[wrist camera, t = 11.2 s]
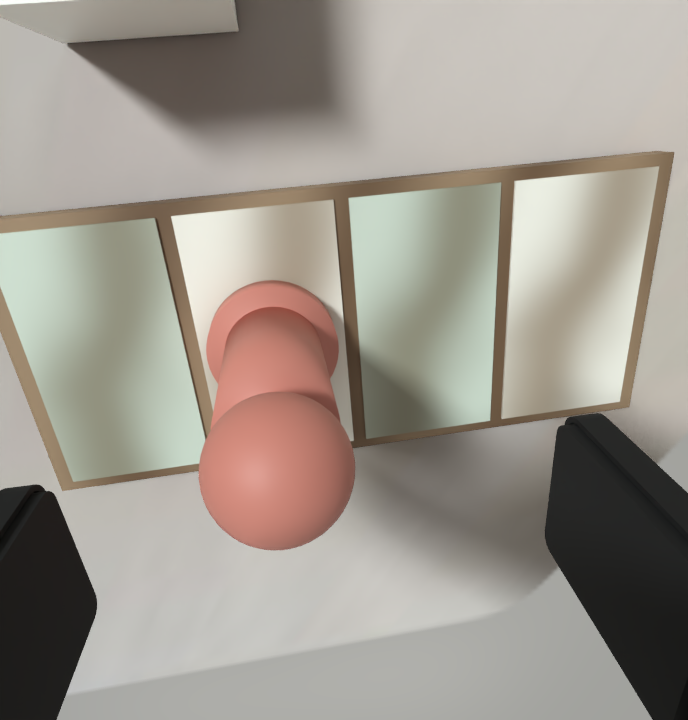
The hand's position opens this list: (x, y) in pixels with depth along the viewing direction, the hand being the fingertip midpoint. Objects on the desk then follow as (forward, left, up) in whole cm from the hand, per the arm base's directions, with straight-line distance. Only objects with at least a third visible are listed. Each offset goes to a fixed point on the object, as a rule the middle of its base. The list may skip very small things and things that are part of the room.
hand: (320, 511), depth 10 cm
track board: (-2, 0, -10) cm, 11 cm away
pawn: (+1, 0, -9) cm, 9 cm away
